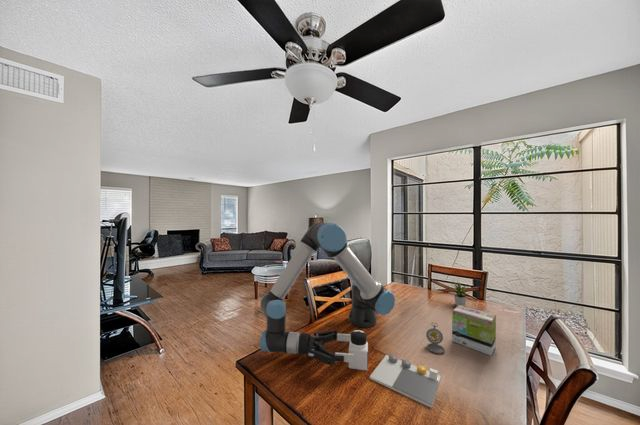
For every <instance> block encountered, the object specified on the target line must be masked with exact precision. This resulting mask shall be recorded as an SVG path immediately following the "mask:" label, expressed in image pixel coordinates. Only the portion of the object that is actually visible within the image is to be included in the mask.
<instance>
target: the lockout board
mask: <svg viewBox="0 0 640 425" xmlns="http://www.w3.org/2000/svg"><path fill="white" fill-rule="evenodd" d="M441 379H442V375H440V374H439V370H437V369H434V368H429V370H427V368H426V366H425V365H424V366H423V365H415V364H411V361H410V360H407V359H402V360H401V359H398V356H396V355H394V354H389V355H388V354H385V356H384V357H383V358H382V359H381V361H380V363H379V364H378V365H377V366H376V367H375V369H374V370H373V372H372V373H371V374H370V375H369V380H372V381H374V382H375V383H377V384H380V385H382V386H384V387H385V388H389V389H391V390H393V391H395V392H397V393H399V394H401V395H403V396H405V397H408V398H410V399H412V400H414V401H416V402H418V403H420V404H422V405H424V406H426V407H428V408H431V409H432V408H433V405H434V402H435V399H436V396H437V392H438V389H439V385H440V383H441Z"/></svg>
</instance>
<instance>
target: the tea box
mask: <svg viewBox="0 0 640 425" xmlns="http://www.w3.org/2000/svg"><path fill="white" fill-rule="evenodd" d="M451 314H452V315H451V316H452V321H451V322H452V326H451V339H452V342H453V343H456V344H459V345H462V346H464V347H467V348H470V349H472V350H475V351H477V352H480V353H483V354H484V355H485V354H486V355H487V356H490V357H492V355H493V352H494V350H495V349H496V339H497V336H496V335H497V334H496V333H497V332H496V331H497V328H496V326H497V315H496V314H495V313H492V312H491V313H490V312H487V311H484V310H483V311H482V310H479V309H475V308H472V307H468V306H466V305H465V306H461V305H458V306H456V307H455V308H454V309H453V310H452V313H451Z"/></svg>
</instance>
